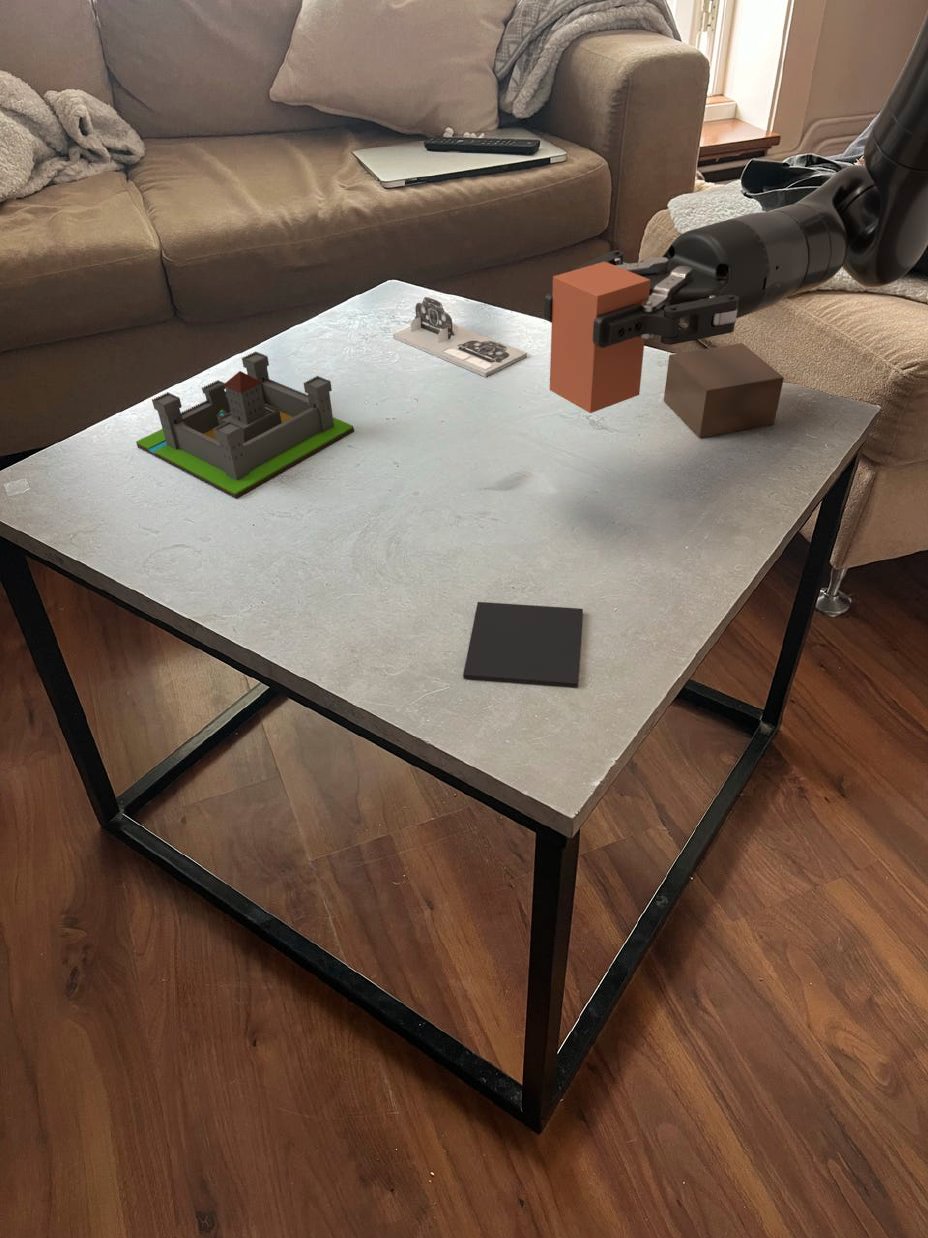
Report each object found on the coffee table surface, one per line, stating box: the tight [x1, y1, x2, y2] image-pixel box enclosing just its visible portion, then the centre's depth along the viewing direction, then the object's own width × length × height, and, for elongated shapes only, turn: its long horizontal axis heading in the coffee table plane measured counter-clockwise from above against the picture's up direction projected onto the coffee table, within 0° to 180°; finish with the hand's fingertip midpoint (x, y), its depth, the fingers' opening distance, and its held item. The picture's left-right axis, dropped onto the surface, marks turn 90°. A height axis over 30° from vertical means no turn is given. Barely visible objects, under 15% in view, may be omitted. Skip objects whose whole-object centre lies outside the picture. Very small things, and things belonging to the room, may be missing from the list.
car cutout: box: [392, 296, 528, 378], centre depth 104 cm, size 15×7×4 cm, turn 45°
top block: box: [549, 262, 650, 414], centre depth 70 cm, size 5×5×9 cm
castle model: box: [135, 350, 355, 499], centre depth 89 cm, size 15×15×7 cm
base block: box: [663, 342, 785, 439], centre depth 91 cm, size 8×8×5 cm
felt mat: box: [462, 601, 584, 688], centre depth 67 cm, size 8×8×1 cm
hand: (572, 320), depth 67 cm, fingers closed on top block, 5 cm apart
